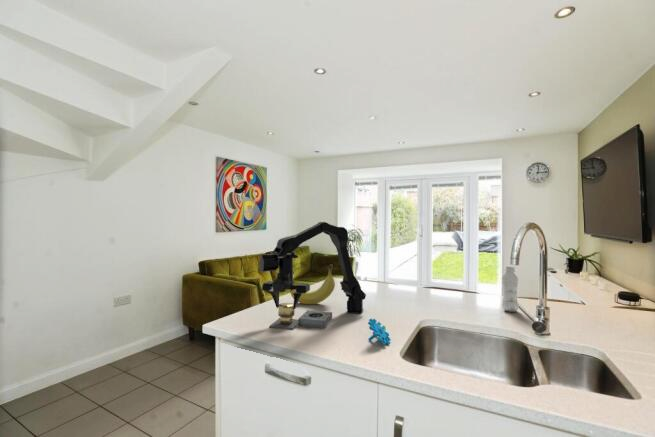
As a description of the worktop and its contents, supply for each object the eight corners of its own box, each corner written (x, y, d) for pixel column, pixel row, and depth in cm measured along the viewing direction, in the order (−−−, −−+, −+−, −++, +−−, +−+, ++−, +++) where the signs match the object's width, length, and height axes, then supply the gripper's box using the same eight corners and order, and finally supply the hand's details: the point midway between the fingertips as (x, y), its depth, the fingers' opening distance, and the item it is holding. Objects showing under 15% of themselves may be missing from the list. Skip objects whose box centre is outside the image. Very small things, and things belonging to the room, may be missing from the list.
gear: (385, 345, 101) (366, 319, 105) (373, 355, 102) (354, 329, 107) (396, 338, 110) (378, 314, 114) (384, 348, 112) (367, 324, 116)
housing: (332, 319, 131) (332, 312, 131) (325, 328, 121) (325, 320, 121) (307, 317, 134) (307, 310, 134) (298, 325, 124) (298, 318, 123)
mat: (302, 321, 129) (302, 319, 129) (293, 329, 119) (293, 328, 119) (279, 319, 132) (279, 317, 132) (269, 327, 122) (269, 325, 122)
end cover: (296, 321, 128) (296, 303, 128) (290, 326, 121) (291, 307, 121) (282, 319, 129) (282, 302, 129) (275, 324, 123) (276, 306, 123)
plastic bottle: (503, 312, 140) (503, 268, 140) (501, 308, 146) (500, 265, 146) (519, 314, 137) (519, 268, 137) (516, 309, 144) (516, 266, 143)
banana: (288, 304, 154) (288, 264, 154) (292, 301, 160) (291, 262, 160) (334, 306, 150) (333, 265, 150) (335, 303, 156) (335, 263, 156)
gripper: (255, 272, 120) (255, 312, 120) (300, 274, 115) (300, 316, 115) (268, 267, 131) (268, 304, 131) (310, 269, 126) (310, 307, 126)
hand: (286, 308), depth 125 cm, fingers open, 7 cm apart
